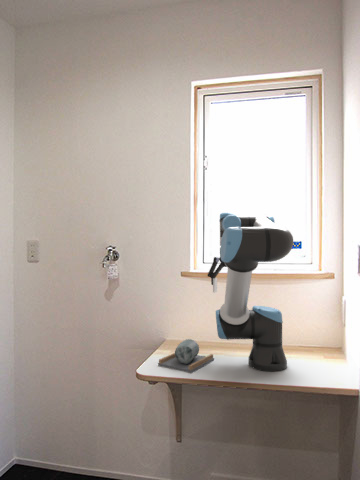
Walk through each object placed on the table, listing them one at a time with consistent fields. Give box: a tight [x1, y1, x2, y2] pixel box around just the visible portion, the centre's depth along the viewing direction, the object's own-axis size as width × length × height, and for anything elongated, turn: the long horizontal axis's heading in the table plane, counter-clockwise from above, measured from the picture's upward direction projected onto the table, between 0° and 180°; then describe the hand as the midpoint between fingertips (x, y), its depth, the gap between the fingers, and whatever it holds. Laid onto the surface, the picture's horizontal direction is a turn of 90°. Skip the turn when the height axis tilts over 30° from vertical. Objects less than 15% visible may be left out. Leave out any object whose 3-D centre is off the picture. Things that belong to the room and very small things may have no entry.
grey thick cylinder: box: [174, 338, 200, 364], centre depth 156 cm, size 14×10×10 cm
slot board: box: [157, 352, 215, 374], centre depth 156 cm, size 16×18×2 cm
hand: (228, 293), depth 174 cm, fingers open, 13 cm apart
